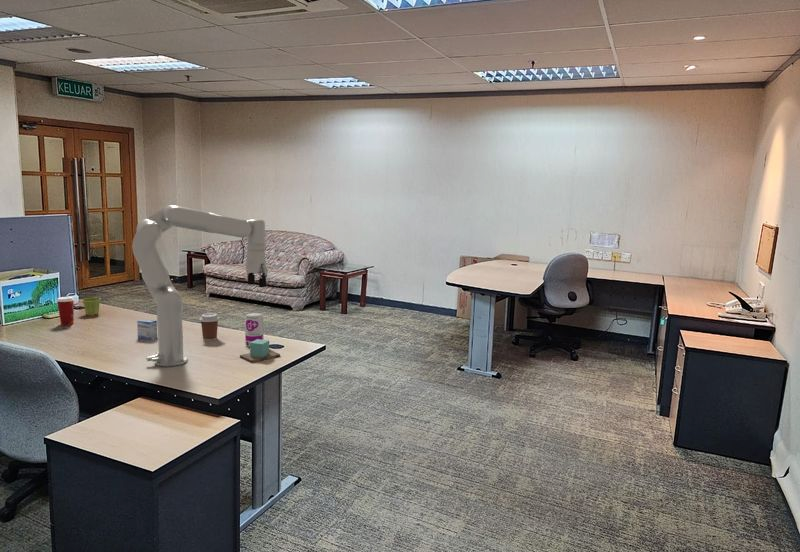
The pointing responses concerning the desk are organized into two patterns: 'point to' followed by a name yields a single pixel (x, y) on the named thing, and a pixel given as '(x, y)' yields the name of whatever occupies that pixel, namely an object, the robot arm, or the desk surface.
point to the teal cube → (259, 348)
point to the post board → (256, 359)
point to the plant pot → (91, 305)
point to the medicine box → (147, 329)
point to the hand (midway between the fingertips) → (256, 285)
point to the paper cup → (66, 310)
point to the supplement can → (253, 327)
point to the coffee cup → (209, 326)
